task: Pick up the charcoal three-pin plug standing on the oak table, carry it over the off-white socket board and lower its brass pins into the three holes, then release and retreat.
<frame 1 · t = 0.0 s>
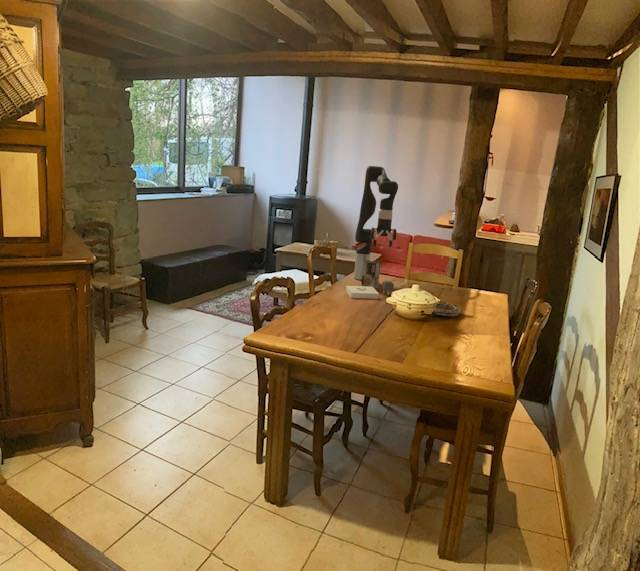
hand: (382, 246, 270), 29 cm above the table, fingers open, 8 cm apart
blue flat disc: (440, 314, 255), on the table
plug: (387, 294, 285), on the table
socket board: (361, 294, 280), on the table
coffee box: (369, 287, 299), on the table
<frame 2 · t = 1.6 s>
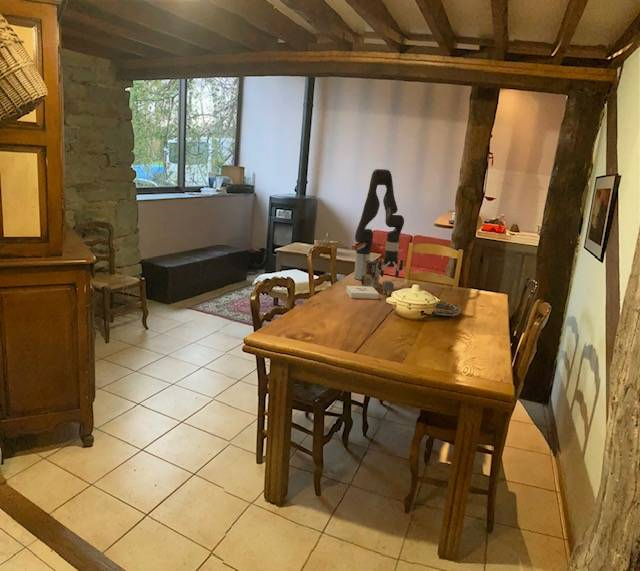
hand: (389, 276, 282), 11 cm above the table, fingers open, 8 cm apart
nothing on the table moved.
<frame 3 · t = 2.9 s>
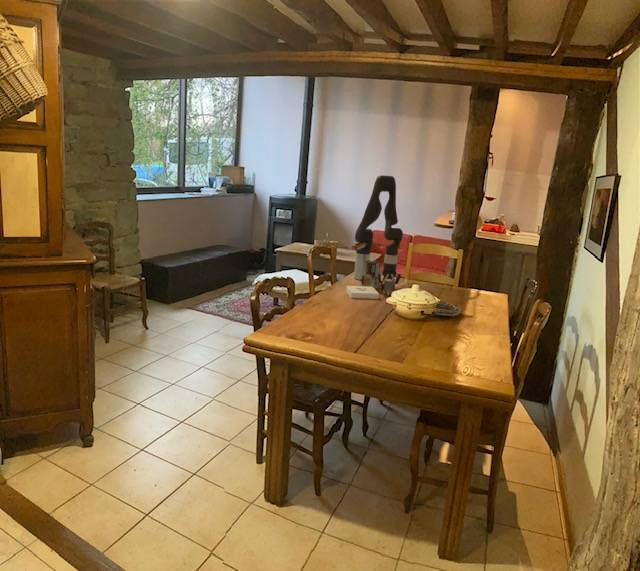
hand: (387, 290, 284), 2 cm above the table, fingers closed on plug, 5 cm apart
plug: (387, 294, 285), on the table, touching gripper
everything else where it was.
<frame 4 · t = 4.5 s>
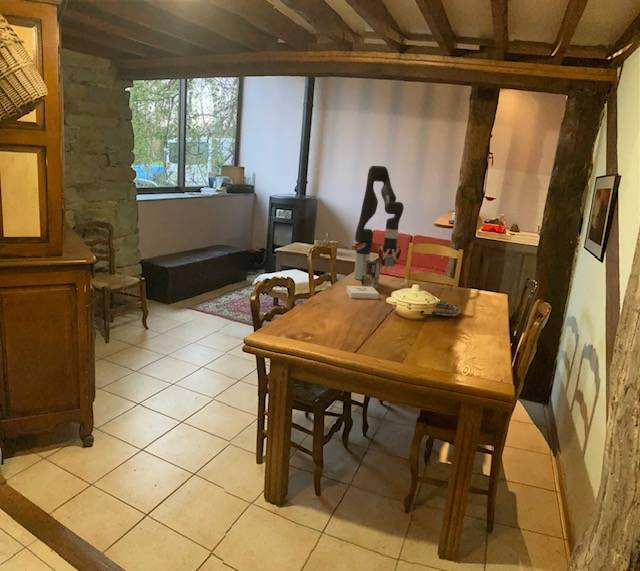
hand: (387, 265, 280), 17 cm above the table, fingers closed on plug, 5 cm apart
plug: (387, 269, 281), point 15 cm above the table, touching gripper
everything else where it was.
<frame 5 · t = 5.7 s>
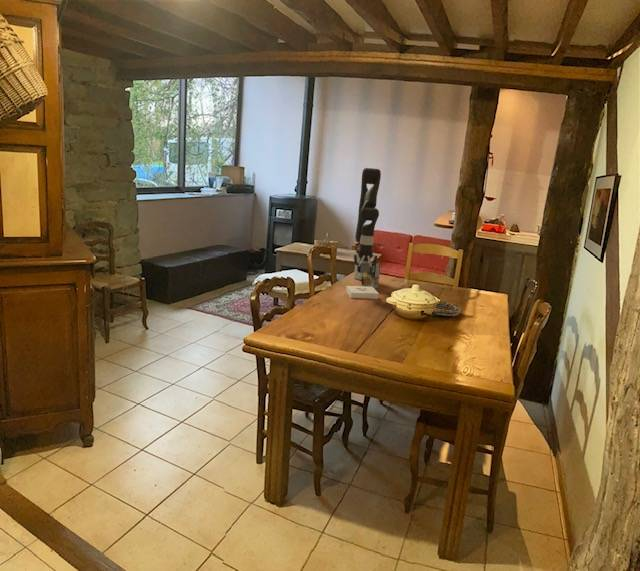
hand: (363, 272, 277), 13 cm above the table, fingers closed on plug, 5 cm apart
plug: (363, 276, 277), point 11 cm above the table, touching gripper
everything else where it was.
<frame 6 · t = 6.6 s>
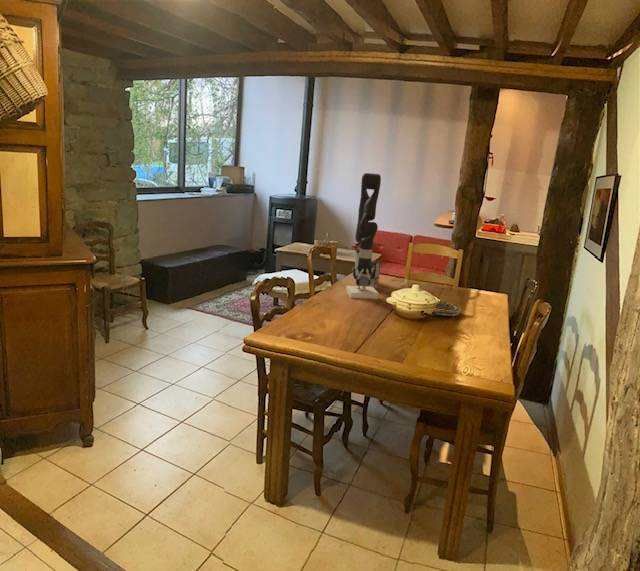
hand: (362, 285, 279), 6 cm above the table, fingers closed on plug, 5 cm apart
plug: (362, 289, 279), point 3 cm above the table, touching gripper
everything else where it was.
when the fingers open (4 cm above the table, at t = 7.4 s): plug stays where it is, resting on socket board.
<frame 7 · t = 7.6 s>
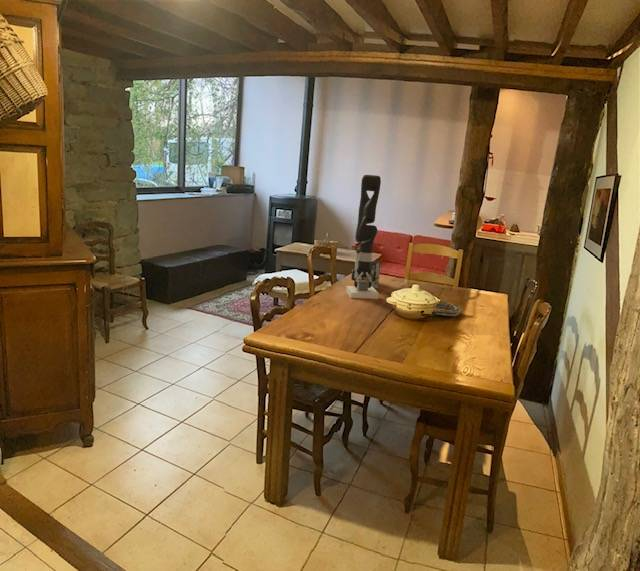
hand: (362, 287, 279), 4 cm above the table, fingers open, 7 cm apart
plug: (361, 294, 280), resting on socket board
everything else where it was.
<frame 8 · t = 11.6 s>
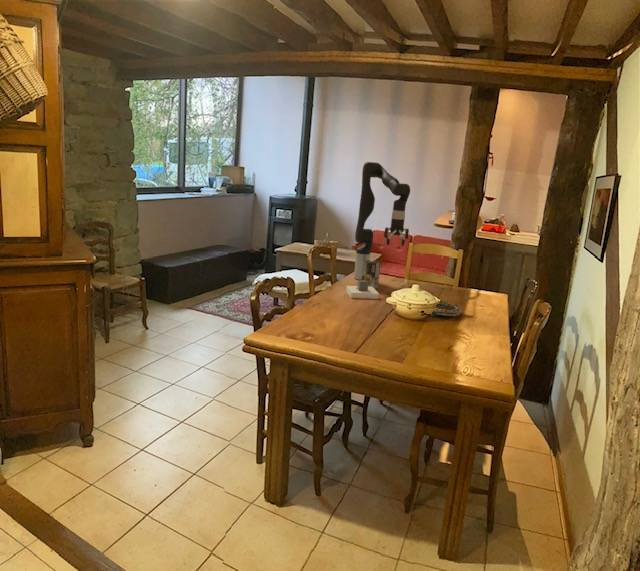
hand: (395, 245, 286), 28 cm above the table, fingers open, 8 cm apart
nothing on the table moved.
at the end: plug 0.1 cm off-centre on the socket board, point 0.2 cm above the socket board's base; plug tilted 0°; the gripper is holding nothing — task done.
